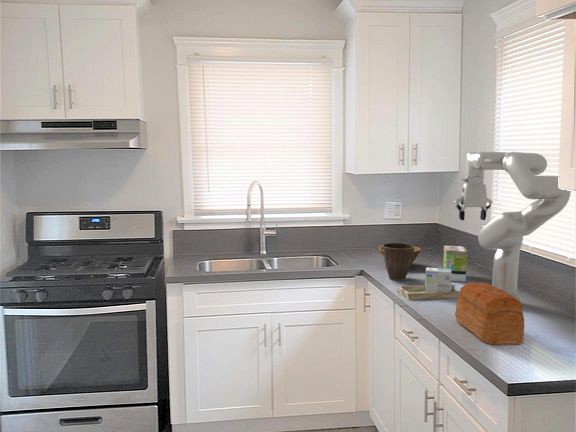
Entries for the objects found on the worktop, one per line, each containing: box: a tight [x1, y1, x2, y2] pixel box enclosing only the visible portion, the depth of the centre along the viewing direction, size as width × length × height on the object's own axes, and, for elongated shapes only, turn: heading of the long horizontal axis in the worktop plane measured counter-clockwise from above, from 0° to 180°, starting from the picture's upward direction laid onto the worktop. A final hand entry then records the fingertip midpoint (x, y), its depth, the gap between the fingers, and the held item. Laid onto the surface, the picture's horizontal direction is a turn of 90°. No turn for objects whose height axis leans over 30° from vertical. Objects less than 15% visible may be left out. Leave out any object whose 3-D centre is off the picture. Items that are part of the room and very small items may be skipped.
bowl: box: [378, 245, 421, 265], centre depth 285 cm, size 22×23×10 cm
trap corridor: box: [397, 284, 460, 301], centre depth 230 cm, size 12×26×2 cm, turn 100°
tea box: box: [442, 245, 468, 283], centre depth 261 cm, size 15×10×15 cm
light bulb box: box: [424, 267, 452, 293], centre depth 230 cm, size 11×7×11 cm, turn 74°
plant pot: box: [382, 242, 415, 281], centre depth 258 cm, size 15×15×16 cm
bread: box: [454, 281, 525, 346], centre depth 183 cm, size 14×27×15 cm, turn 6°
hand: (472, 219), depth 236 cm, fingers open, 9 cm apart
